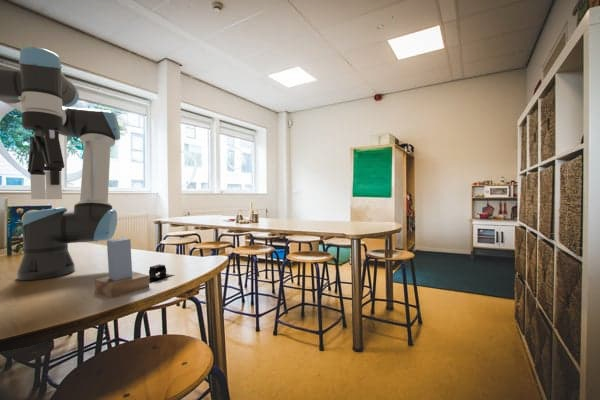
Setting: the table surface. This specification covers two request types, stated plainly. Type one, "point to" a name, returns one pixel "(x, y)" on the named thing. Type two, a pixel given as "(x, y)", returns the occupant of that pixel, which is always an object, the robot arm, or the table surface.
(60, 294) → the table surface
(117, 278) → the tower block
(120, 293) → the base block
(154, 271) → the black piece
